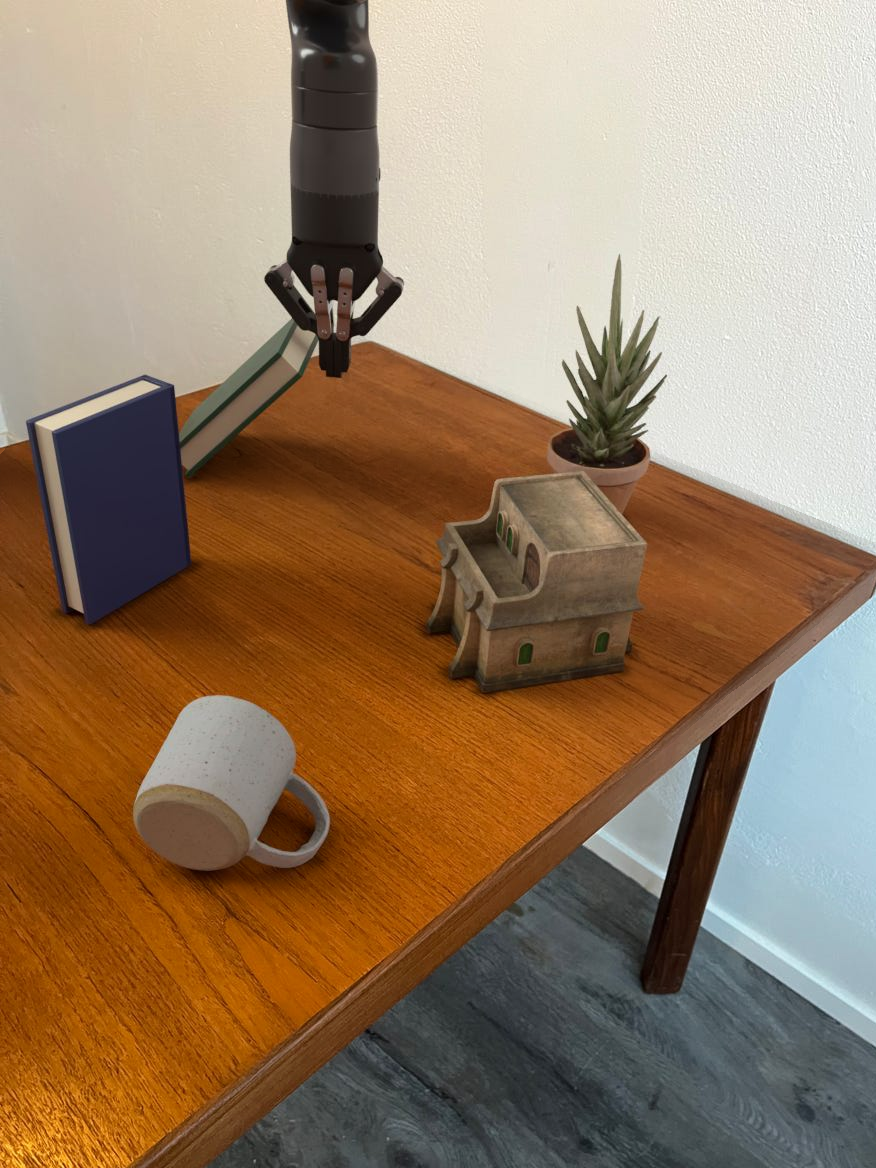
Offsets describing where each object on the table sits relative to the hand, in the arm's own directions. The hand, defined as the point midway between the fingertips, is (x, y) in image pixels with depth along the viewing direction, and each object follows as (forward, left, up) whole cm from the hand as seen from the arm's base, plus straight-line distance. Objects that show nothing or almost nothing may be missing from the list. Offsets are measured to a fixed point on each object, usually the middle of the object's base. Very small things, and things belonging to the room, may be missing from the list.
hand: (335, 374), depth 96 cm
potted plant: (+26, +1, -10) cm, 28 cm away
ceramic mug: (+14, -47, -10) cm, 50 cm away
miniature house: (+25, -20, -10) cm, 34 cm away
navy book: (-5, -28, -1) cm, 28 cm away
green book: (-8, -2, -4) cm, 9 cm away
